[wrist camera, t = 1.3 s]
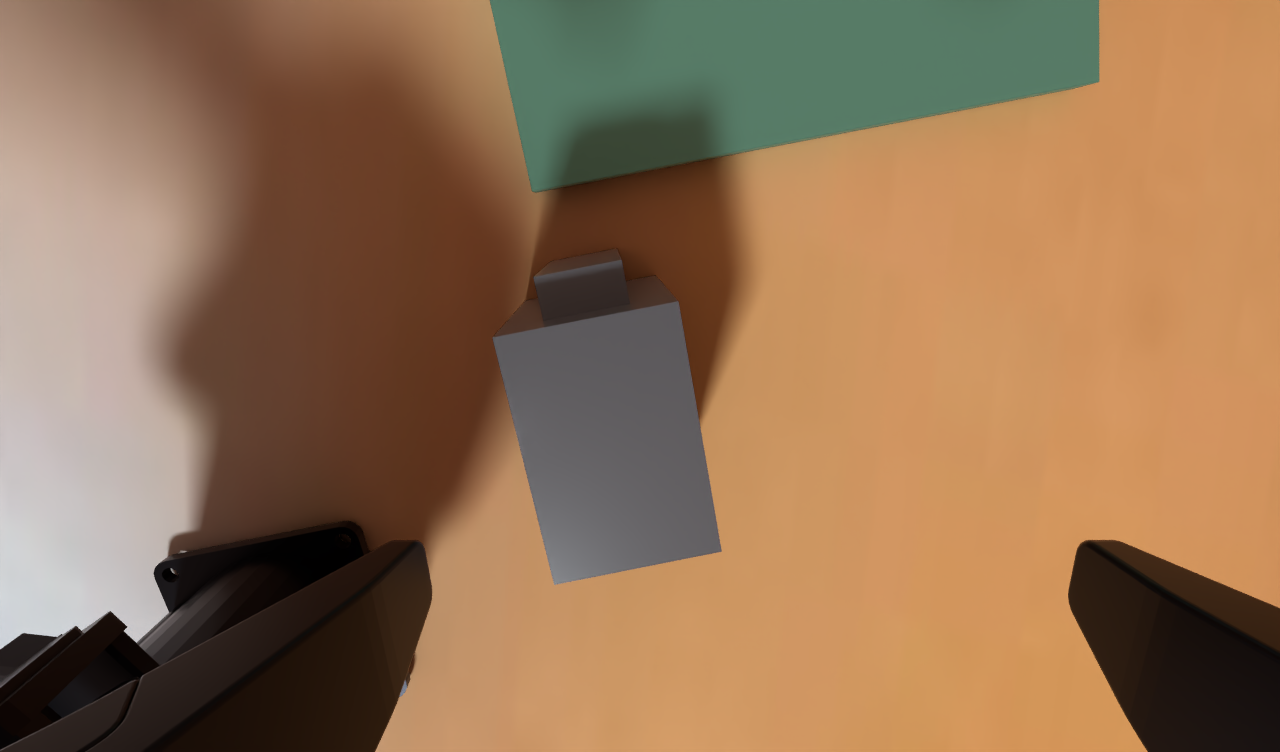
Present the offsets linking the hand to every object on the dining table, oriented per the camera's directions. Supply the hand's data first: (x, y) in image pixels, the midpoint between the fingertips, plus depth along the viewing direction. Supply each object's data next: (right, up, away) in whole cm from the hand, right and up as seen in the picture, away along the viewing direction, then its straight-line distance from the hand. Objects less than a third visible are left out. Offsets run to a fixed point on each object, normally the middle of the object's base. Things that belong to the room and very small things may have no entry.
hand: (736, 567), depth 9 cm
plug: (-2, +2, +11) cm, 12 cm away
